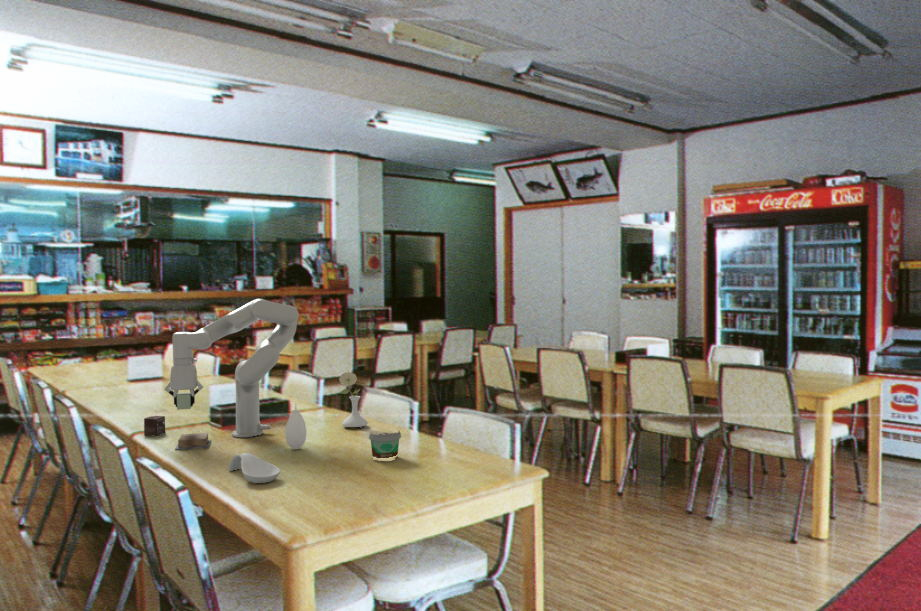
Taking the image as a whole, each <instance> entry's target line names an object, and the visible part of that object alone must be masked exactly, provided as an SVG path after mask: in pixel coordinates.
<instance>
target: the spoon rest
mask: <svg viewBox="0 0 921 611" xmlns="http://www.w3.org/2000/svg"><path fill="white" fill-rule="evenodd" d="M237 469H240V470H241V472H242V475H243V477H244V479H245V480H247V481H248V482H249V483H251V482H252V483H251V484H254V483H263V484H267V483H266V482H268V483H271V482H273V481H274V480H276V479H277V477H278V476H279V475H280V474H281V470H280V468H279V467H278V466H276V465H274V464H272V463H270V462H268V461H266V460H263V459H261V458H259V457H258V456H256V455H254V454H251V453H249V452H243V453H241V454H240V453H239V454H238V453H237V454H236V455H234V456H233V457H232V458H231V460H230V461H229V464H228V469H227V470H228V472H234V471H233V470H236V471H238V470H237Z"/></svg>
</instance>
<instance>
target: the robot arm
mask: <svg viewBox="0 0 921 611" xmlns="http://www.w3.org/2000/svg"><path fill="white" fill-rule="evenodd" d="M299 316H300V315H299V311H298V309H297V308H296V307H295V306H292V305H290V304H284V303H280V302H279V303H278V302H274V301H272V300H271V301H270V300H267V299H264V298H256V299H253V300H251V301H250V302H247V303H246V304H244V305H242V306H241V307H239V308H236V309H235V310H233V311H231V312H229V313H227V314H225V315H223V316H222V317H220V318H219V319H217V320H215V321H213V322H211V323H209V324H208V325H206V326H204V327H202V328H200V329H198V330H197V331H195V332H190V331H178V332H174V333H173V334H172V364H173V365H171V368H170V376H169V378H170V379H169V382H168V384H167V385H166V387H165V388H164V391H165V392H167V393H168V394H169V395H170V396H172V398H173V405H175V408H177V394H178V393H179V391H186V390H187V391H189V392H190V393H191V397H190V401H191V406H192V407H193V406H194V404H195V403H196V402H195V396H196V394H198V392H200V391H201V390H203V388H204V386H203V385H202V384H201V382H199V380H198V374H197V373H198V371H197V366H196V365H195V364H194V363H196V362H198V358H194V355H193V354H194V350H207V349H209V348H210V347H211V346H212V344H213V343H214V342H217V341H218V340H220V339H221V338H224V337H226V336H229V335H232V334H235V333H238V332H241V331H242V330H244V329H245V328H247V327H250V326H251V325H254V324H255V323H257V322H259V321H260V320H261V321H265V322H268V323H269V322H270V323H273V324H276V326H275V327H274V329H273V330H272V331H271V333H270V334H268V336H266V337H265V339H264V340H262V342H260V343H259V344H258V345H257V346H256V347H255V349H254V353H253V354H252V355H251V356H250V357H249V359H245V360H242V361H240V362H238V364H237V365H236V368H235V371H234V377H235V430H233V431H232V433H231V435H232V436H233V437H234V438H254V437H253V436H255V437H258V436H257V435H259V436H261V434H262V433H263V434H264V430H271V424H268V423H267V424H266V423H265V424H262V423H261V421H260V381H261V380H263V378H264V377H265V376H266V375H267V374H268V373H269V372H270V371H271V370H272V369H273V367H274V366H276V365H277V363H278V361H279V359H280V358H281V357H280V356H281V355H280V353H281V352H282V351H283V350H284V349H285V348H286V347H287V345H288V344H290V343H291V341H292V340H293V338H294V336H295V334H296V332H297V328H298V327H297V326H298V325H297V324H298V323H297V321H298V320H299ZM197 387H198V388H197ZM196 388H197V389H196ZM263 434H262V435H263Z"/></svg>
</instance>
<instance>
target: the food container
mask: <svg viewBox="0 0 921 611" xmlns="http://www.w3.org/2000/svg"><path fill="white" fill-rule="evenodd" d="M401 438H402V434H401V432H400V430H398V431H397V432H391V433H390V432H383V433H380V434H374V433H371V432H370V433H369V436H368V439H369V440H370V446H371V454H372V455H371V456H373V457H376V458H389V457H393V456H396V455H397V454H398V453H399V445H400V439H401ZM398 455H399V454H398Z"/></svg>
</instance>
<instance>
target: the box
mask: <svg viewBox="0 0 921 611" xmlns="http://www.w3.org/2000/svg"><path fill="white" fill-rule="evenodd" d="M143 428H144V429H143V432H144V433H143V436H148V435H155V436H154V437H158V436H161V435H162V434H163V433H164V434H166V416H164V415H163V416H162V415H152V416H147V417H145V418H143ZM160 434H161V435H160ZM157 435H158V436H157Z"/></svg>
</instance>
